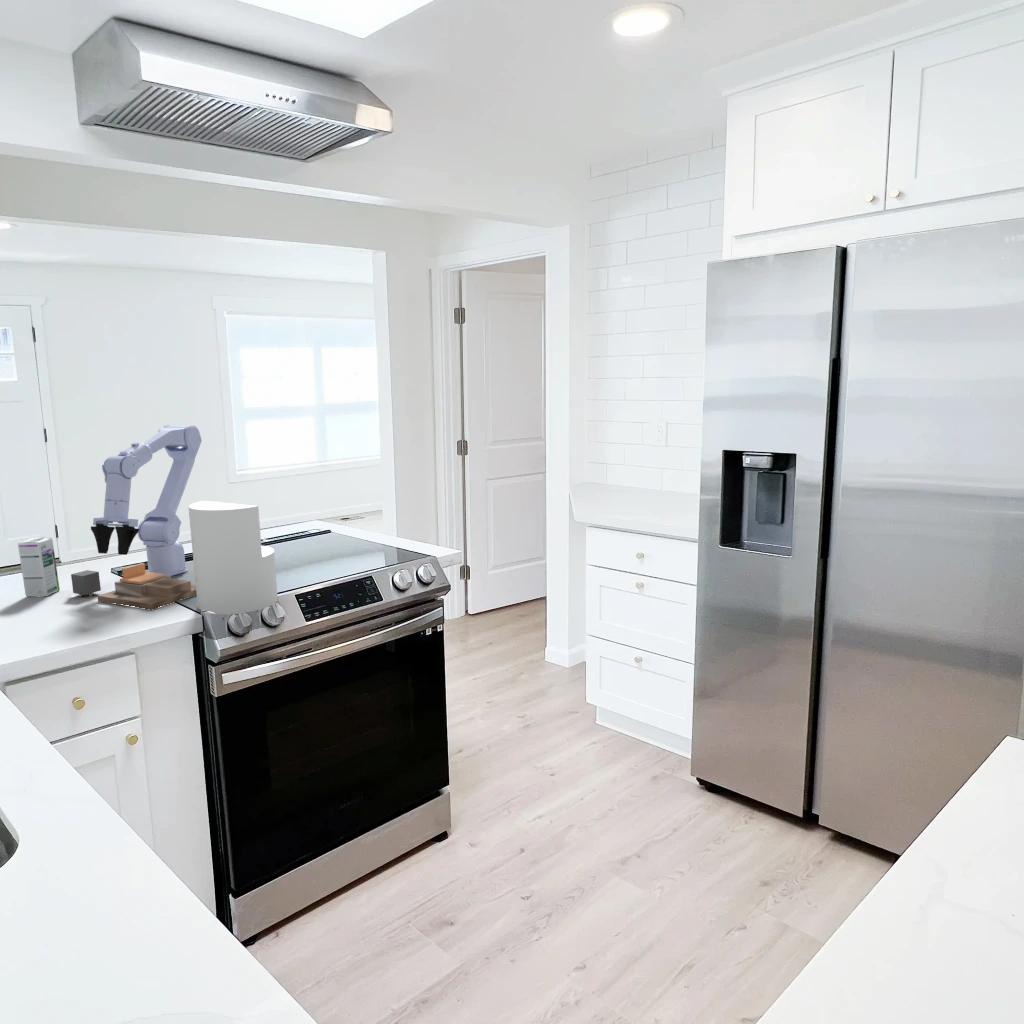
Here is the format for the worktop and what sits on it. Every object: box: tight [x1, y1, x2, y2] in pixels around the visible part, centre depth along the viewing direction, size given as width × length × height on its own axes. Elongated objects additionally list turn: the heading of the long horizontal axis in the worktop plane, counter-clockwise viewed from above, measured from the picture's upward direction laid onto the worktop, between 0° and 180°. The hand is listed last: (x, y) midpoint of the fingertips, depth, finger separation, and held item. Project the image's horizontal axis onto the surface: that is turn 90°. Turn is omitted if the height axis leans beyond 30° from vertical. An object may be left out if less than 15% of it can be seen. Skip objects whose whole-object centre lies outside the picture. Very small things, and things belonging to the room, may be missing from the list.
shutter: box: [119, 562, 167, 584], centre depth 201 cm, size 8×8×3 cm
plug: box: [70, 569, 102, 597], centre depth 202 cm, size 4×7×6 cm, turn 65°
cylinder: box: [188, 500, 278, 615], centre depth 191 cm, size 19×19×25 cm
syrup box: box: [17, 537, 60, 597], centre depth 202 cm, size 6×6×14 cm
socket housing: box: [97, 576, 197, 611], centre depth 200 cm, size 18×19×4 cm
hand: (112, 554), depth 202 cm, fingers open, 7 cm apart
